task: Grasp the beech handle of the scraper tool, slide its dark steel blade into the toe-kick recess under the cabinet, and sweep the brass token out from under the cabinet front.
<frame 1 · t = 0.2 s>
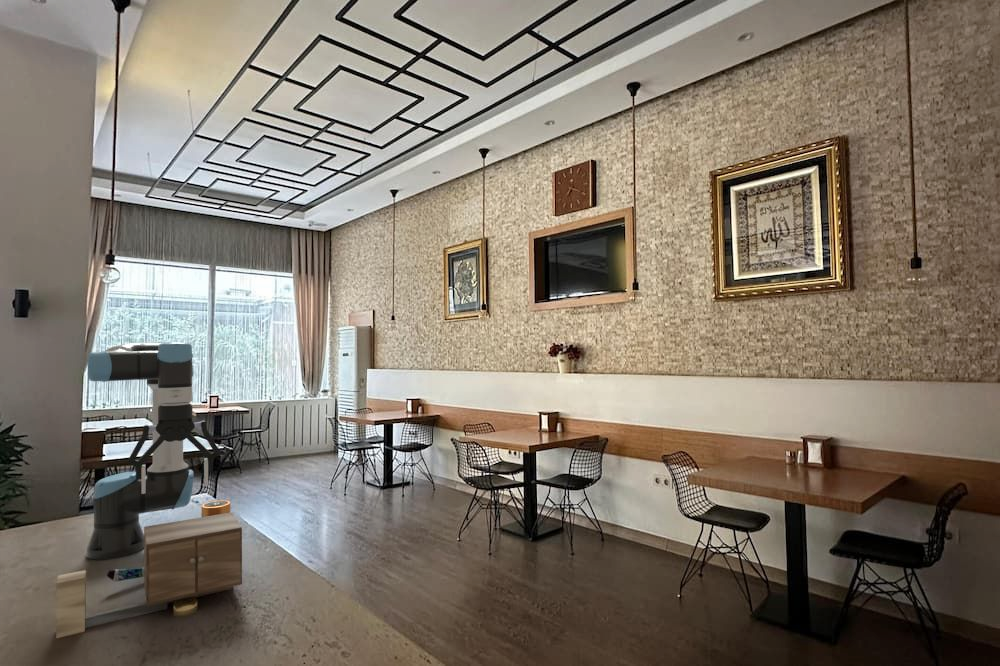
hand: (175, 488, 140), 28 cm above the table, fingers open, 13 cm apart
cabinet: (193, 601, 138), on the table
blade tool: (71, 630, 125), on the table
knife: (172, 575, 155), on the table
token: (185, 612, 133), on the table
battery: (216, 576, 154), on the table
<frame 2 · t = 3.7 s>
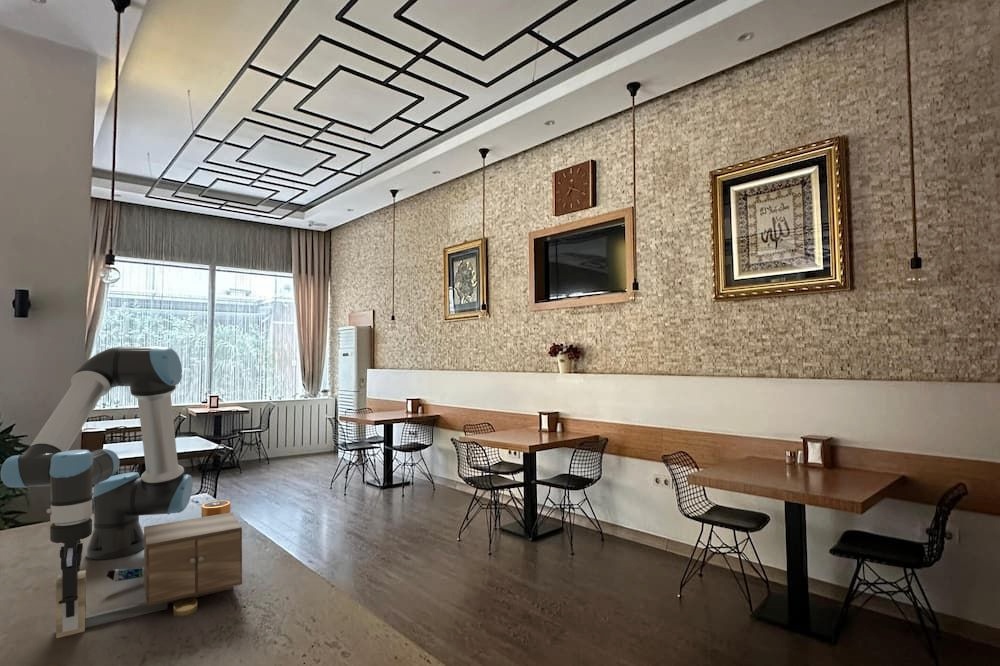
hand: (71, 624, 125), 1 cm above the table, fingers closed on blade tool, 5 cm apart
blade tool: (71, 630, 125), on the table, touching gripper
everything else where it was.
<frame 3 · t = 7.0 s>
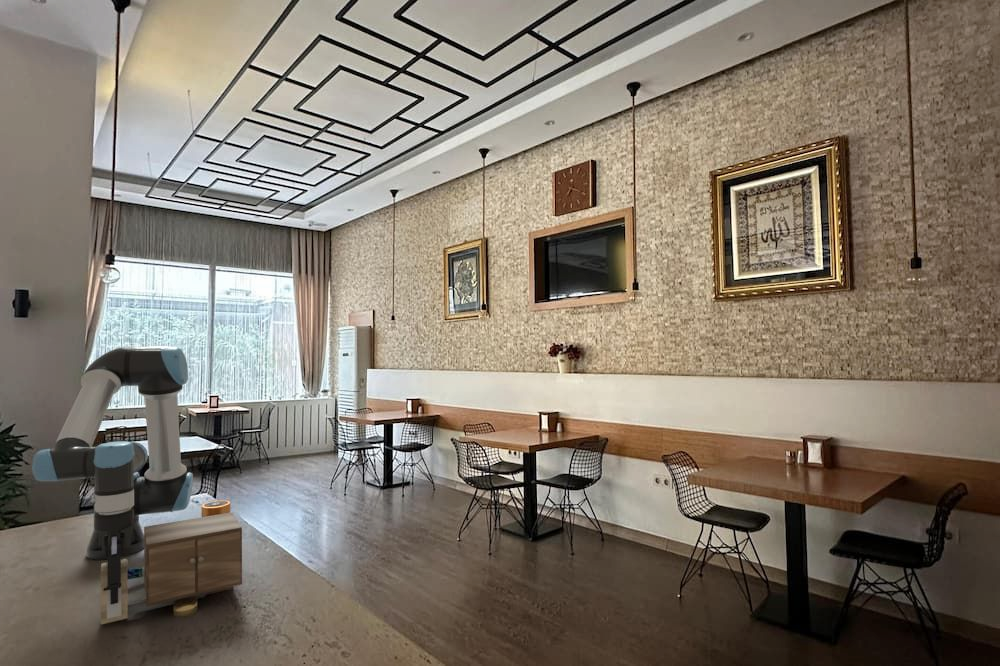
hand: (114, 611, 129), 3 cm above the table, fingers closed on blade tool, 5 cm apart
blade tool: (114, 616, 129), point 1 cm above the table, touching gripper
everything else where it was.
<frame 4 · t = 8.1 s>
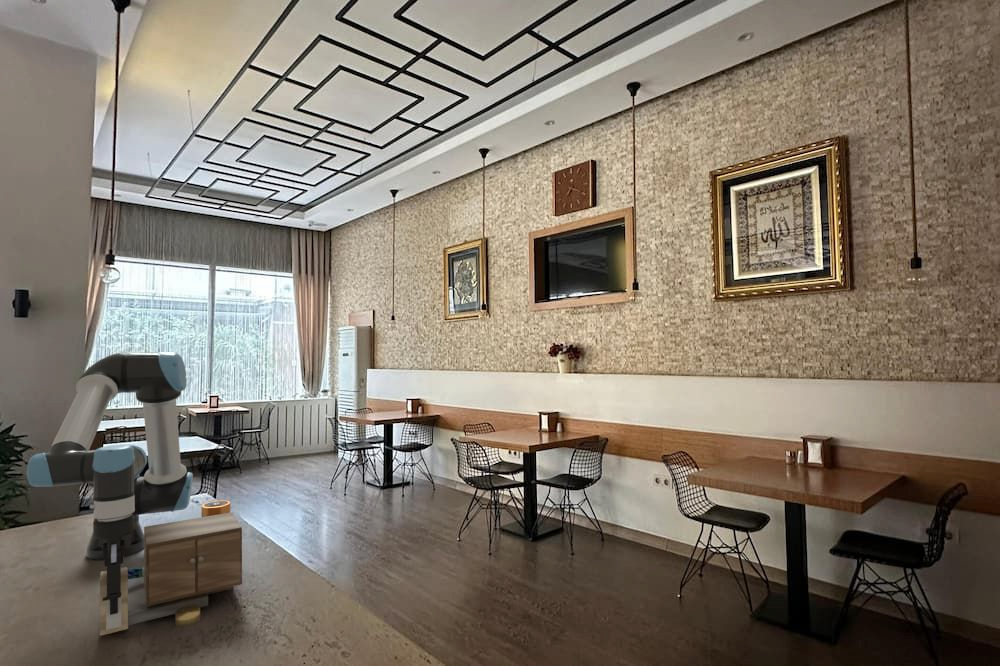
hand: (114, 621, 124), 3 cm above the table, fingers closed on blade tool, 5 cm apart
blade tool: (114, 627, 124), point 1 cm above the table, touching gripper, token
token: (187, 621, 129), on the table, touching blade tool
everything else where it was.
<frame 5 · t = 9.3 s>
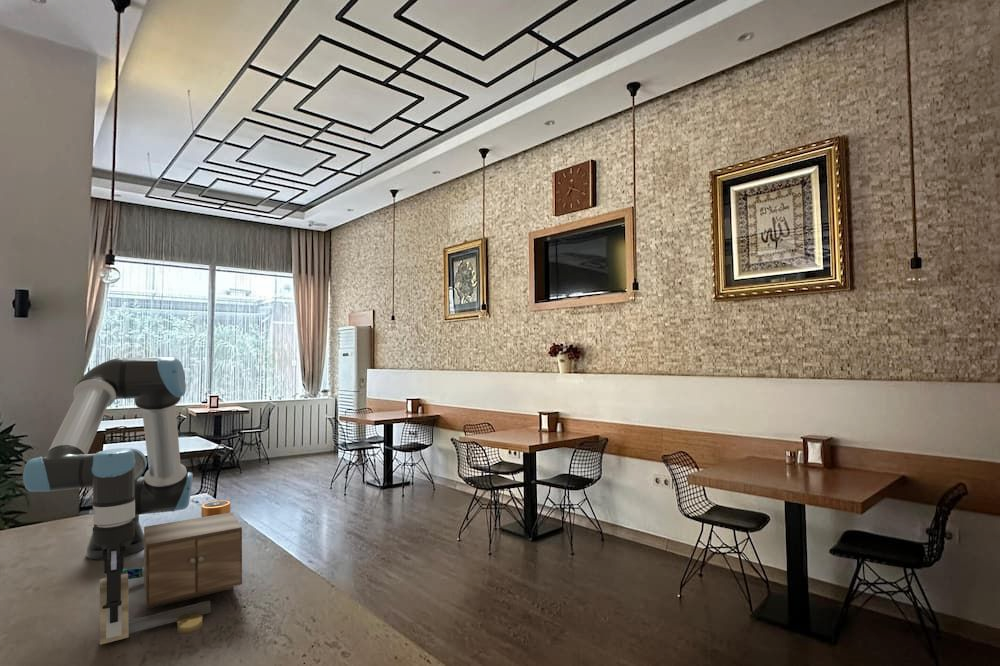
hand: (114, 630, 120), 2 cm above the table, fingers closed on blade tool, 5 cm apart
blade tool: (114, 635, 120), point 1 cm above the table, touching gripper
token: (189, 628, 126), on the table
everything else where it was.
when the fingers open (2 cm above the table, at t = 10.2 s): blade tool drops 1 cm, on the table.
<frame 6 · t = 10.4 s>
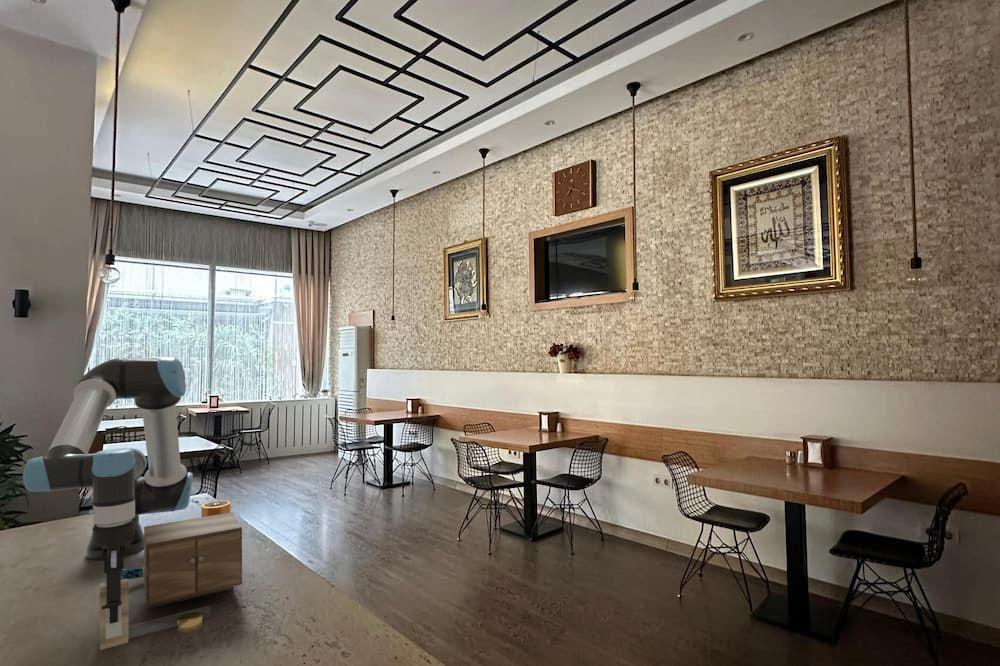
hand: (114, 627, 120), 3 cm above the table, fingers open, 8 cm apart
blade tool: (114, 641, 120), on the table
everything else where it was.
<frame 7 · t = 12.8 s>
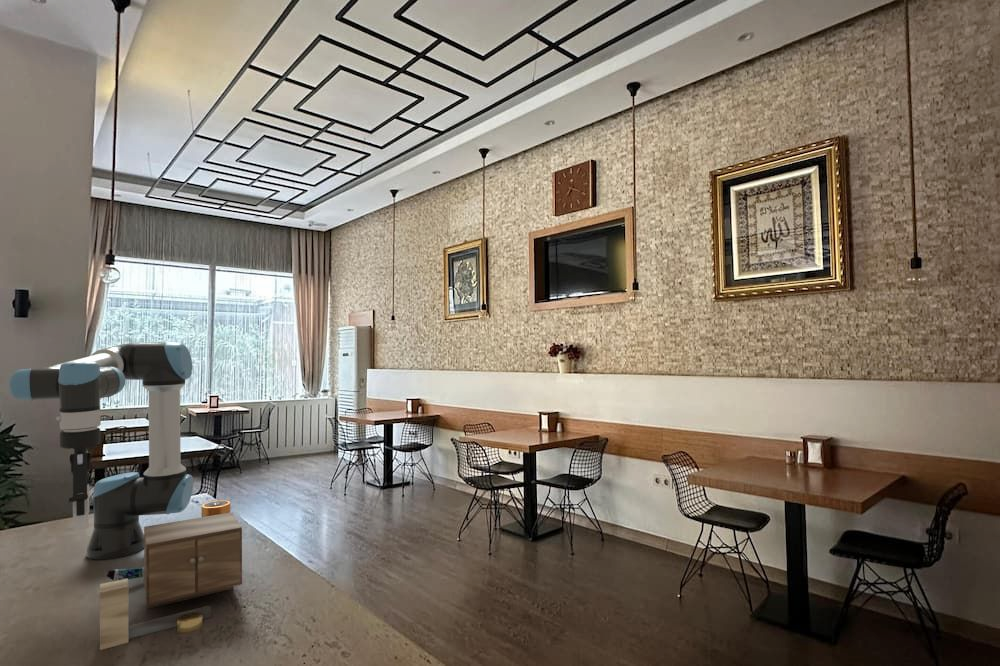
hand: (81, 520, 129), 23 cm above the table, fingers open, 13 cm apart
nothing on the table moved.
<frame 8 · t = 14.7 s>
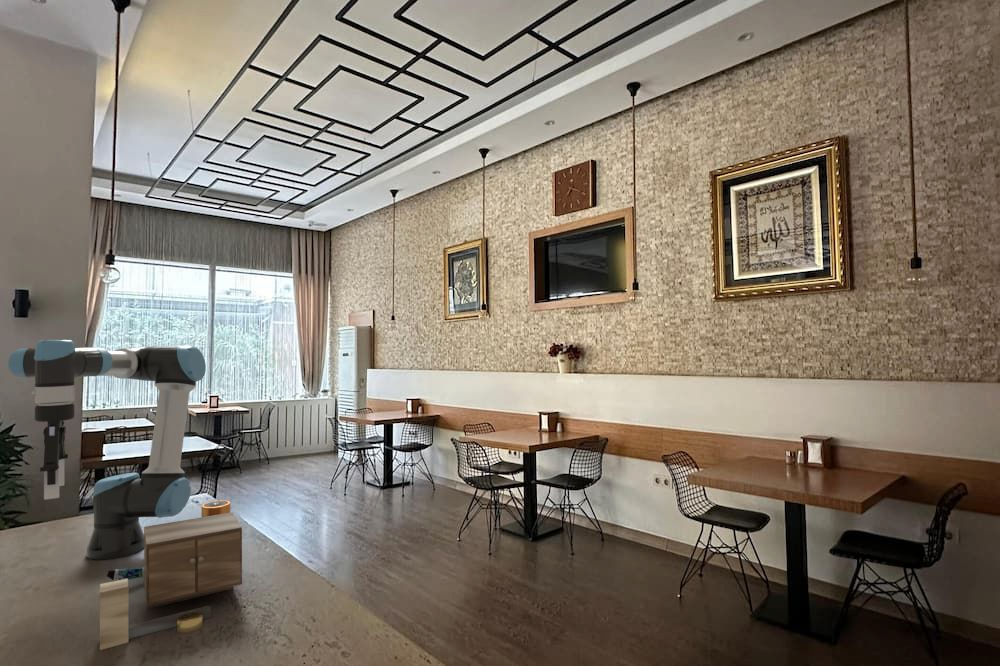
hand: (54, 492, 134), 29 cm above the table, fingers open, 13 cm apart
nothing on the table moved.
at the end: token inside the target area (5.3 cm from its centre), on the table; blade tool moved 13.9 cm from its start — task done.
